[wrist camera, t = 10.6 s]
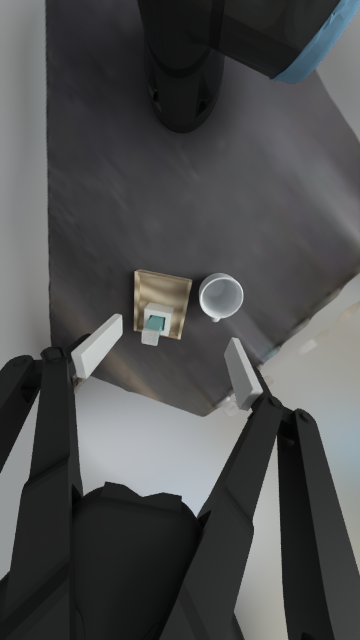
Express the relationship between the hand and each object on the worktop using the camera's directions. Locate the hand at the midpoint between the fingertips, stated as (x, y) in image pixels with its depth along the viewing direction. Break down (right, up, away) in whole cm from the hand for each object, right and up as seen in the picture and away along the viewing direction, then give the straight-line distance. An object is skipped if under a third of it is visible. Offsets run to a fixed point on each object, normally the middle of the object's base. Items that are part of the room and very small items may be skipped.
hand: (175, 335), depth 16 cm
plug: (-7, +2, +33) cm, 34 cm away
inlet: (-7, +4, +36) cm, 37 cm away
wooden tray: (-6, +8, +35) cm, 36 cm away
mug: (+12, +12, +31) cm, 35 cm away
